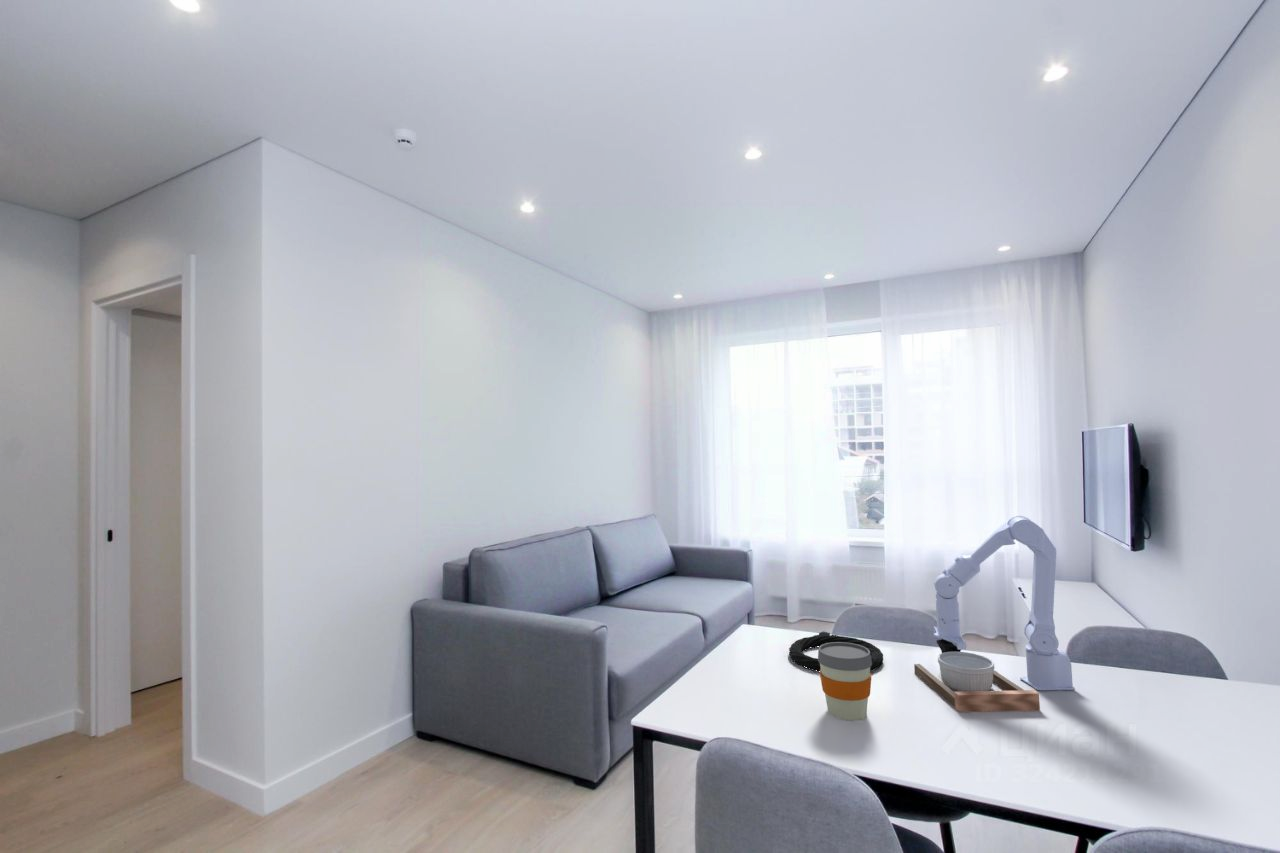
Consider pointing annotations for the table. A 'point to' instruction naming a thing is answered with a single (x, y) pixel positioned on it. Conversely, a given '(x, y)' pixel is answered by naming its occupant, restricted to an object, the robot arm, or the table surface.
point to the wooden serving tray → (984, 695)
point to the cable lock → (827, 638)
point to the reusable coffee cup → (845, 679)
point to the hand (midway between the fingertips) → (950, 667)
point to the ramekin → (966, 671)
